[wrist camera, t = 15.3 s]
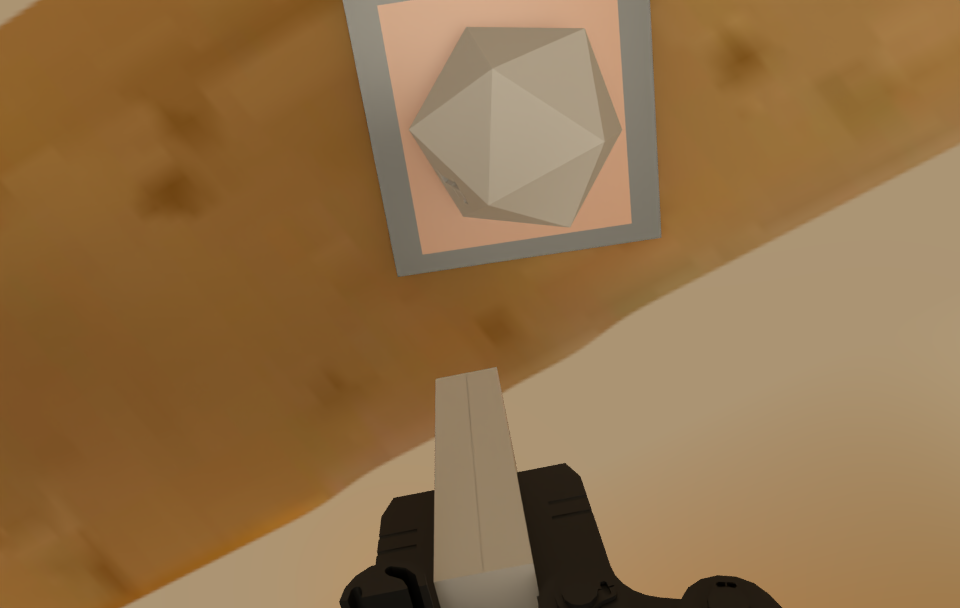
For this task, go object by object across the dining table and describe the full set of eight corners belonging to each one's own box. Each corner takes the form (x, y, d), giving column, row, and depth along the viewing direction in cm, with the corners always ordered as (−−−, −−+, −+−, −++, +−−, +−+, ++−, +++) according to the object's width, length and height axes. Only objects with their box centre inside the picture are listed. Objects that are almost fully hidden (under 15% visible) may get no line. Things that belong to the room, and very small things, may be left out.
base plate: (399, 271, 36) (397, 276, 35) (343, -12, 31) (339, -14, 30) (655, 232, 36) (661, 237, 35) (641, -58, 31) (647, -62, 30)
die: (429, 14, 31) (347, 143, 26) (603, -48, 27) (549, 92, 21) (501, 151, 36) (446, 282, 31) (657, 118, 32) (625, 265, 26)
